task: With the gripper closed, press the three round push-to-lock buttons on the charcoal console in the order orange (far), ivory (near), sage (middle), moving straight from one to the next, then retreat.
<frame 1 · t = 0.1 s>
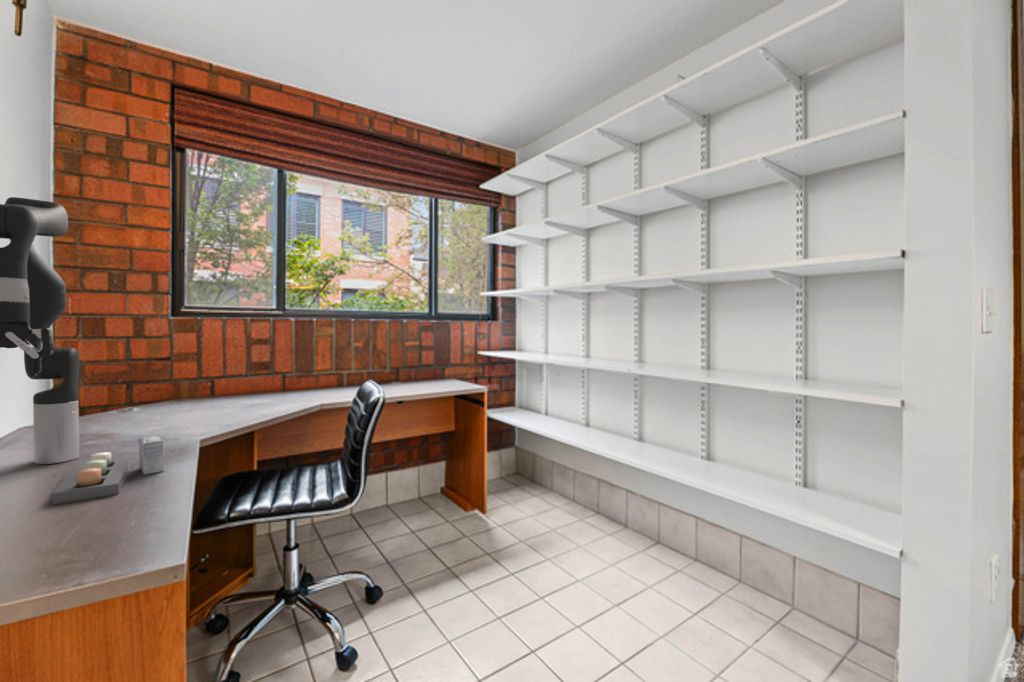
hand: (4, 376, 92), 29 cm above the table, fingers open, 8 cm apart
sage button: (95, 467, 111), point 4 cm above the table, slide at 0.0 cm
console: (95, 483, 111), on the table
orange button: (89, 476, 104), point 4 cm above the table, slide at 0.0 cm
medicine box: (151, 470, 122), on the table
ivory button: (101, 459, 117), point 4 cm above the table, slide at 0.0 cm
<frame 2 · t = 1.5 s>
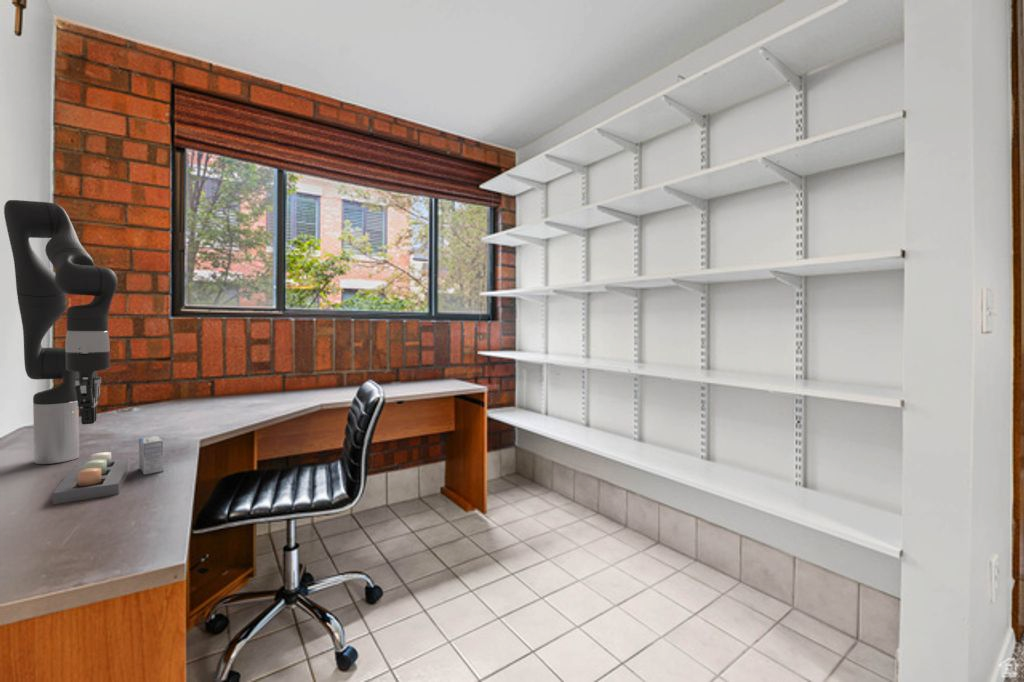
hand: (89, 422, 104), 17 cm above the table, fingers closed
nothing on the table moved.
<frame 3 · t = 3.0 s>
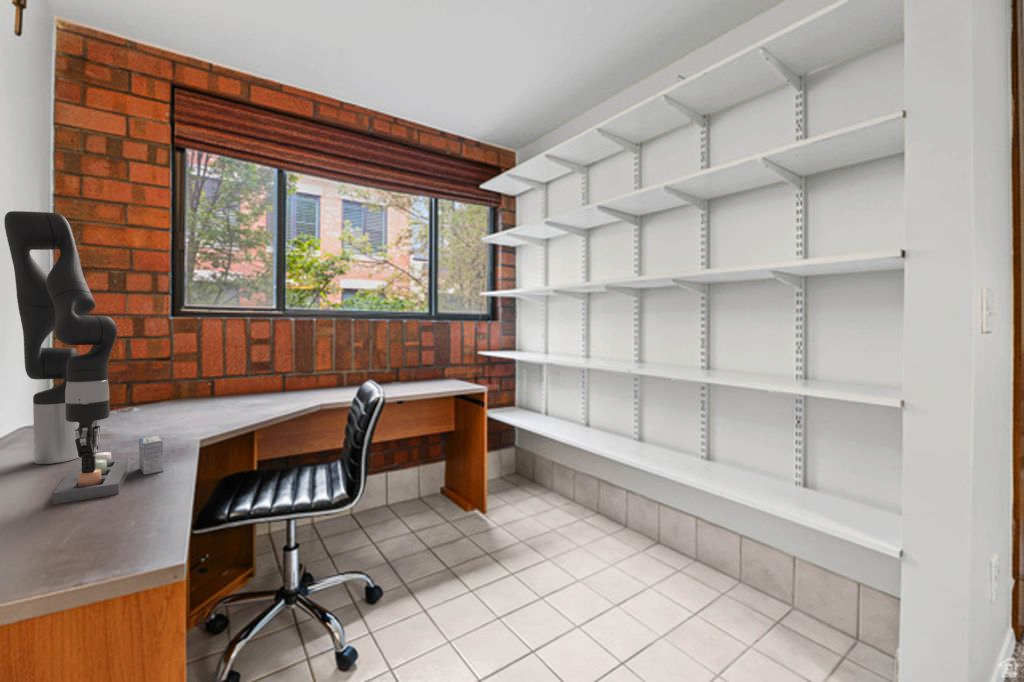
hand: (88, 472, 104), 5 cm above the table, fingers closed
orange button: (89, 477, 104), point 4 cm above the table, slide at 0.3 cm, touching gripper
everything else where it was.
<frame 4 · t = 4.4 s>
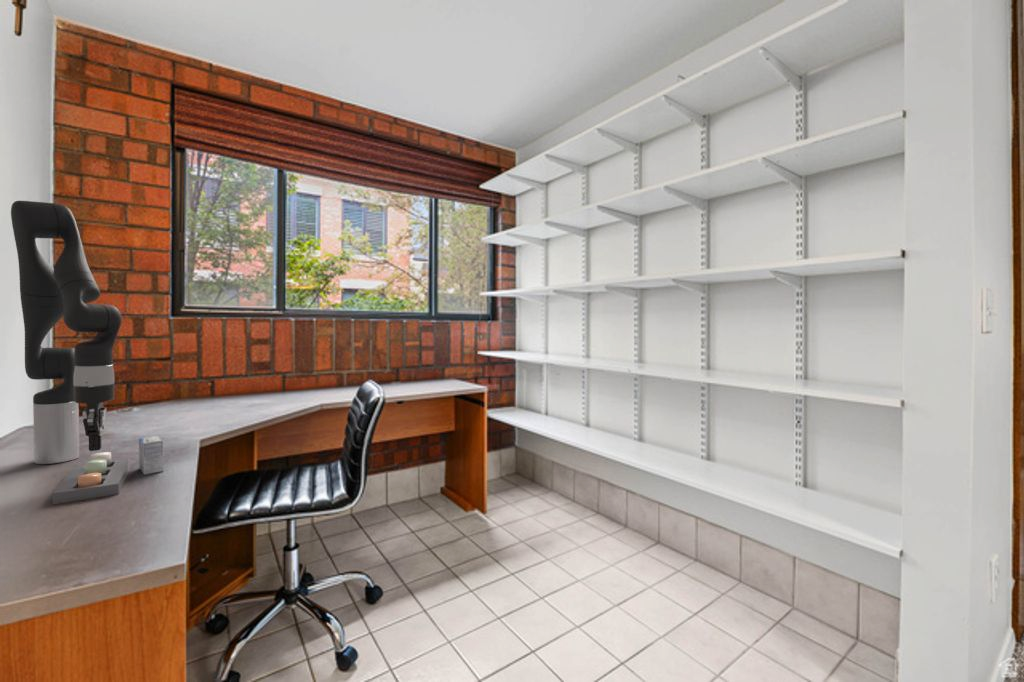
hand: (95, 449, 112), 8 cm above the table, fingers closed
orange button: (89, 481, 104), point 3 cm above the table, slide at 1.2 cm
everything else where it was.
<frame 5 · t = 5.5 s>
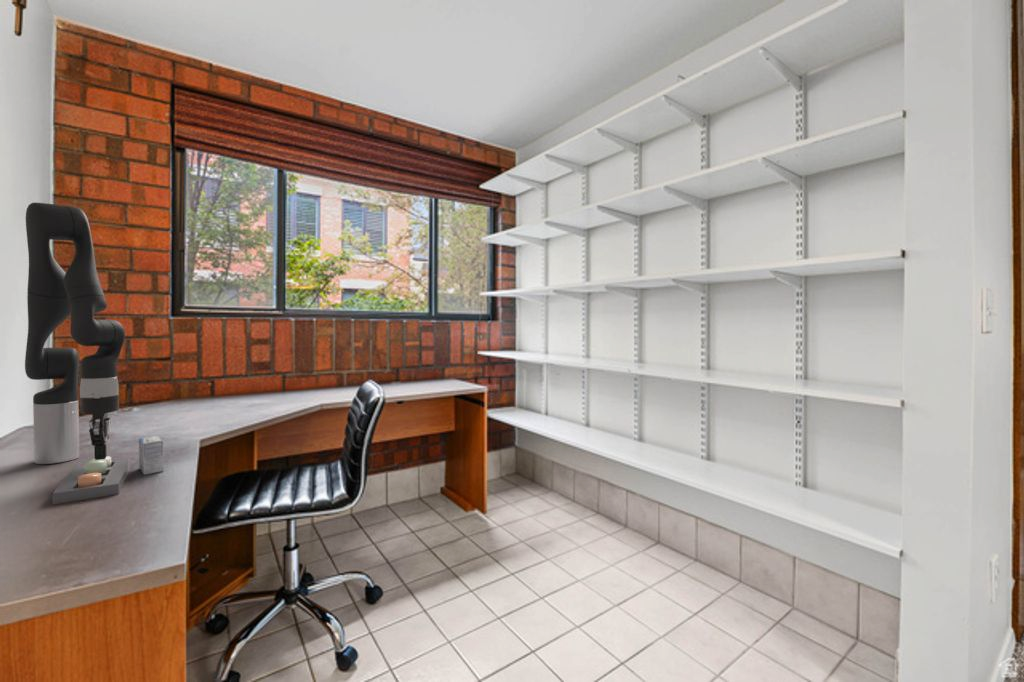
hand: (100, 458, 117), 4 cm above the table, fingers closed
ivory button: (101, 464, 117), point 3 cm above the table, slide at 1.2 cm, touching gripper
everything else where it was.
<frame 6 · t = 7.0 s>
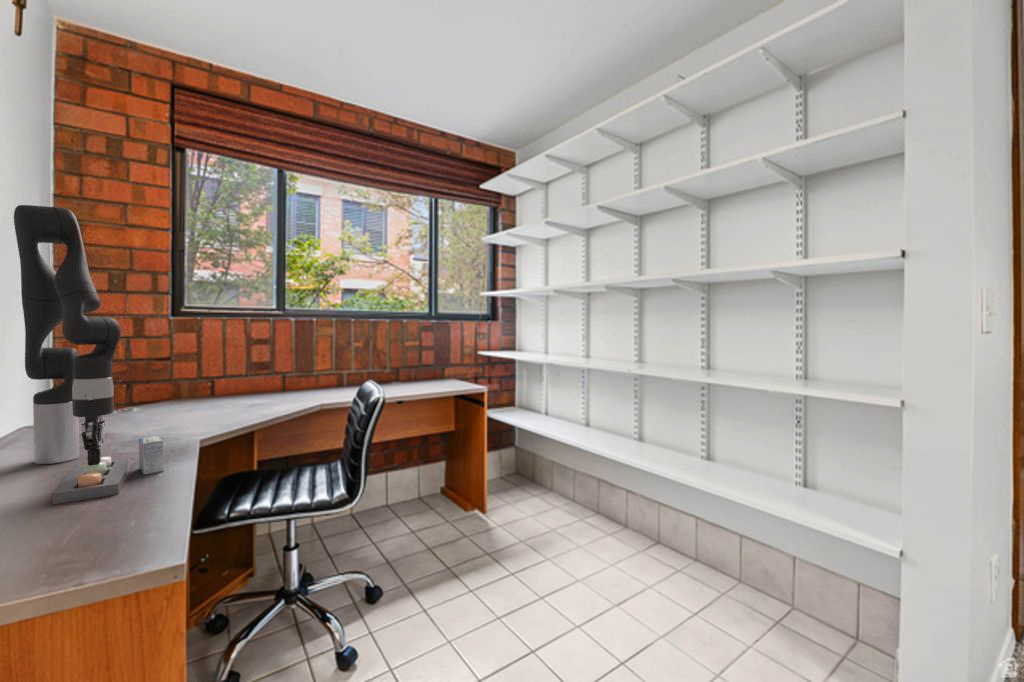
hand: (94, 464, 110), 5 cm above the table, fingers closed
sage button: (95, 469, 111), point 4 cm above the table, slide at 0.5 cm, touching gripper
ivory button: (101, 464, 117), point 3 cm above the table, slide at 1.2 cm
everything else where it was.
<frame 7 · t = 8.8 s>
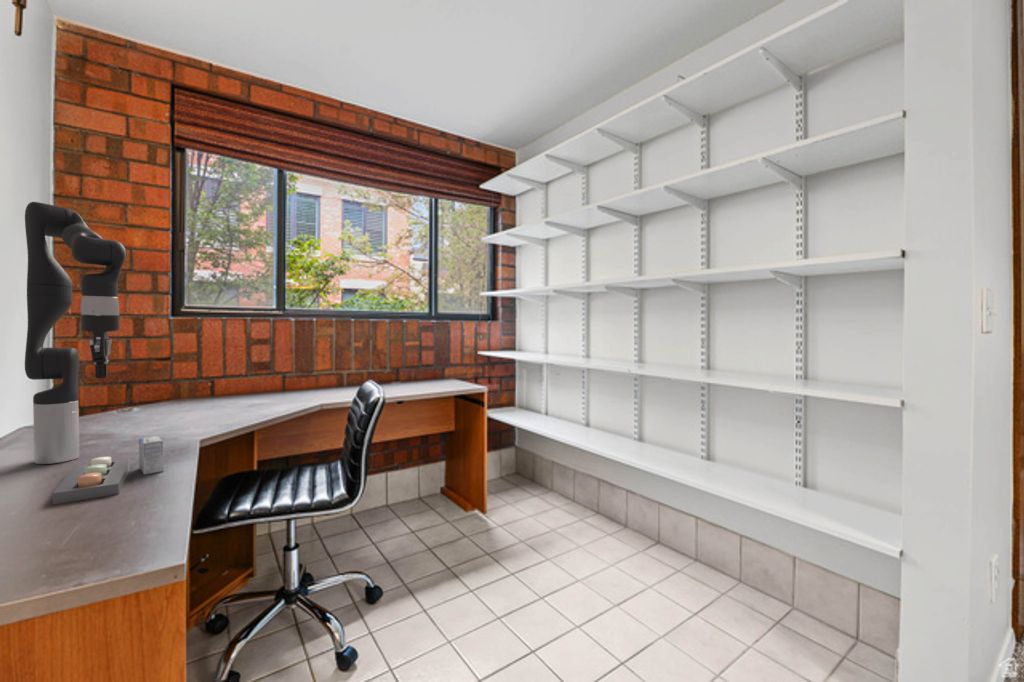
hand: (101, 377, 118), 26 cm above the table, fingers closed
sage button: (95, 472, 111), point 3 cm above the table, slide at 1.2 cm
everything else where it was.
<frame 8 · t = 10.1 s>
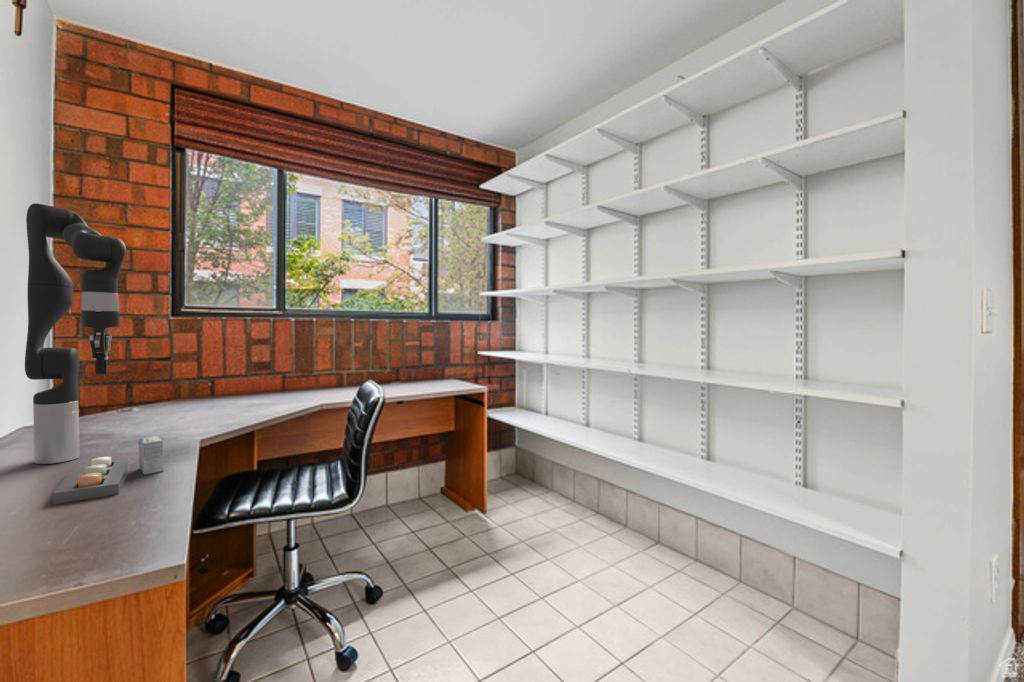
hand: (101, 373, 118), 27 cm above the table, fingers closed
nothing on the table moved.
at the end: orange button slide at 1.2 cm; ivory button slide at 1.2 cm; sage button slide at 1.2 cm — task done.
